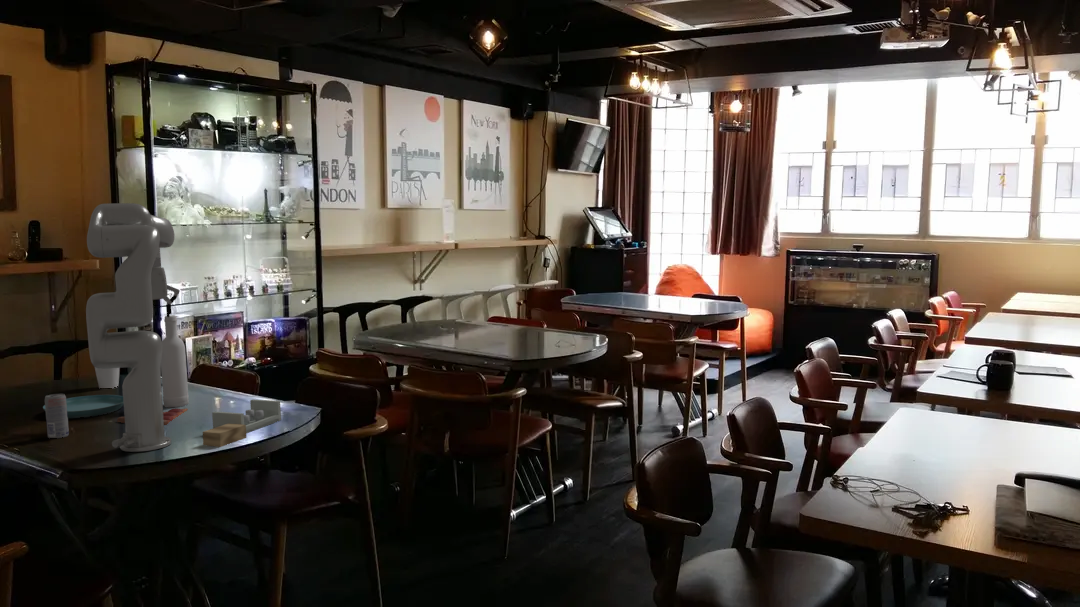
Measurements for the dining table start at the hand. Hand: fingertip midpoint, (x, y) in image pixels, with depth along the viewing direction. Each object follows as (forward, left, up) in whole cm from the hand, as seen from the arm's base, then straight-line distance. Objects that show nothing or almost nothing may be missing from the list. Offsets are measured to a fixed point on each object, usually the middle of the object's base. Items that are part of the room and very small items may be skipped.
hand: (151, 317), depth 270 cm
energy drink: (-32, +6, -31) cm, 45 cm away
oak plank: (-24, -46, -31) cm, 60 cm away
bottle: (+11, +3, -31) cm, 33 cm away
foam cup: (+30, +52, -31) cm, 68 cm away
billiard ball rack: (-4, -6, -32) cm, 32 cm away
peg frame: (-8, -41, -31) cm, 52 cm away
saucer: (-4, +26, -31) cm, 41 cm away
